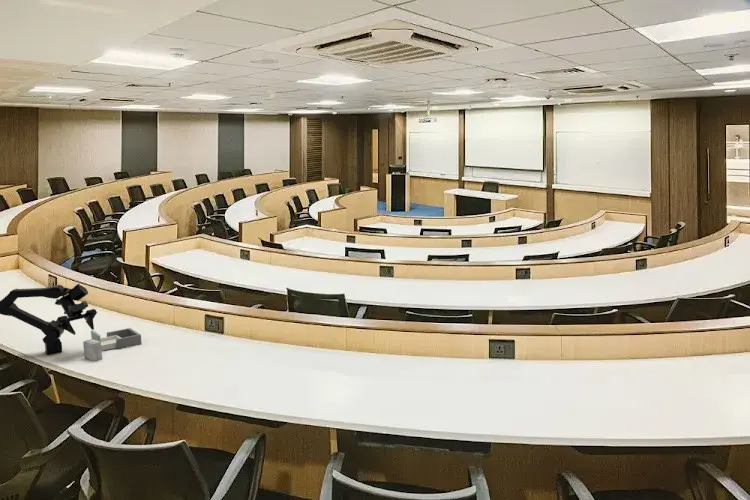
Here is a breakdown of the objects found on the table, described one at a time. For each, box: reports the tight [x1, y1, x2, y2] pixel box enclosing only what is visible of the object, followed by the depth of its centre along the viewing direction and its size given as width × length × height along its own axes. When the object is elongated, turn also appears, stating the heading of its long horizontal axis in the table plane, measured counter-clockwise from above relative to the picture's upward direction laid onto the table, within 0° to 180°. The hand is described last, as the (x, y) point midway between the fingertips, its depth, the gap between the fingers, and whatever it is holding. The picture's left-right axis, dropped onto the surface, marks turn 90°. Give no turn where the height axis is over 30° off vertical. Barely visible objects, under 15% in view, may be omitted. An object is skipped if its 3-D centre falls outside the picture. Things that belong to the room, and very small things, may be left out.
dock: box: [106, 327, 142, 350], centre depth 290 cm, size 12×16×5 cm
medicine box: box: [82, 339, 103, 362], centre depth 267 cm, size 8×4×9 cm, turn 58°
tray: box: [90, 329, 121, 352], centre depth 284 cm, size 13×13×8 cm
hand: (84, 331), depth 269 cm, fingers open, 9 cm apart
